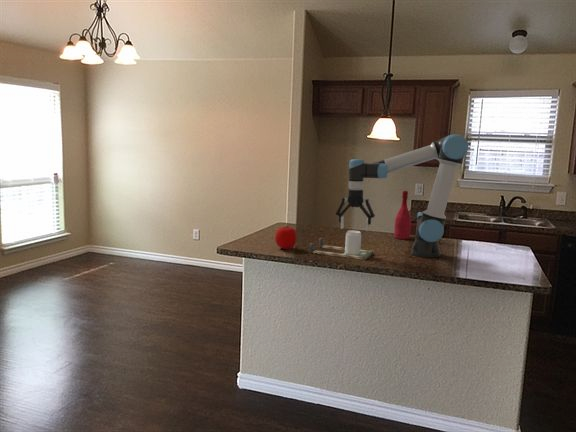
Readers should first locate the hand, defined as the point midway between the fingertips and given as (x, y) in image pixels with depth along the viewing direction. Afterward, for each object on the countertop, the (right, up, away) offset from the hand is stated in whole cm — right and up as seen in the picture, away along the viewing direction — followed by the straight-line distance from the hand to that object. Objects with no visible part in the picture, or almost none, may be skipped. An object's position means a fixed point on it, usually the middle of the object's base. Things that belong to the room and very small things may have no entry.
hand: (354, 229), depth 245 cm
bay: (-6, -13, +5) cm, 15 cm away
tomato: (-36, -11, +11) cm, 39 cm away
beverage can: (-1, -13, +2) cm, 13 cm away
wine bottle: (+37, -7, +49) cm, 61 cm away
